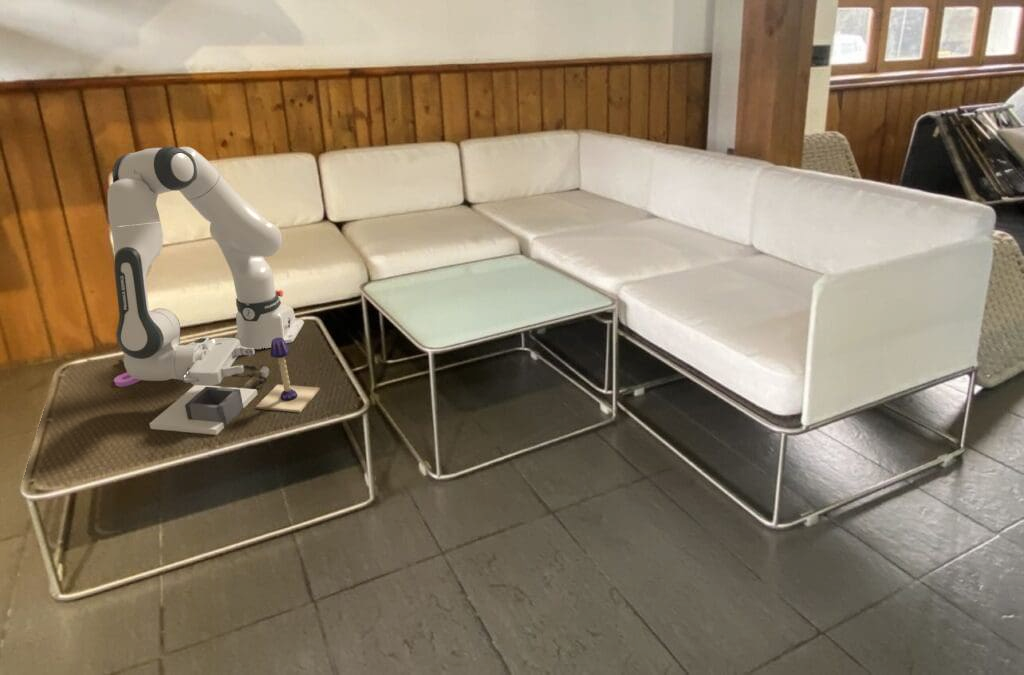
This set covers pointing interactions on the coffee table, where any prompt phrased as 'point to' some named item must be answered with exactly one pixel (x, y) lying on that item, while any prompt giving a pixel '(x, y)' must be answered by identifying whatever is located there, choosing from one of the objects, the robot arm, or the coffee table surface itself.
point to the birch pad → (295, 405)
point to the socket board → (204, 409)
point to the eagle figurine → (253, 375)
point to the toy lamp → (283, 367)
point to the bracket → (125, 380)
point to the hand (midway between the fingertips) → (248, 360)
